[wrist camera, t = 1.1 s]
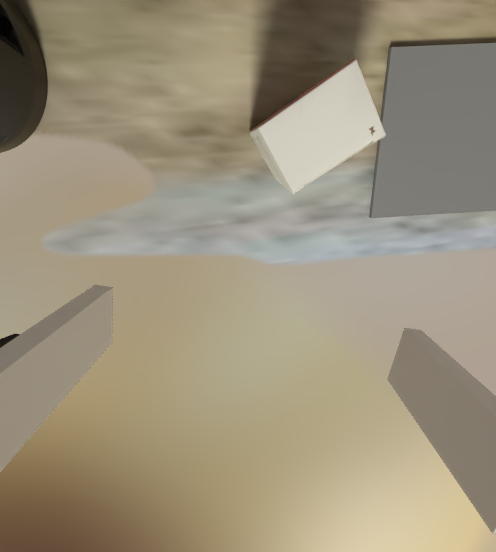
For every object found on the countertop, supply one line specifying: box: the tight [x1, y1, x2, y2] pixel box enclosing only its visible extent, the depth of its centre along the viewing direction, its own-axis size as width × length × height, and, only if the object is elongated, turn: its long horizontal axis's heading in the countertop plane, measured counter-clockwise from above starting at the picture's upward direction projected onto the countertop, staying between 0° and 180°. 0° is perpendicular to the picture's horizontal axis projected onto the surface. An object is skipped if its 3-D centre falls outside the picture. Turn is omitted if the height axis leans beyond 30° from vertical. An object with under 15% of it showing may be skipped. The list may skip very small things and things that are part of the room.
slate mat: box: [369, 43, 496, 218], centre depth 32 cm, size 18×16×1 cm
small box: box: [250, 59, 386, 194], centre depth 26 cm, size 8×6×10 cm
